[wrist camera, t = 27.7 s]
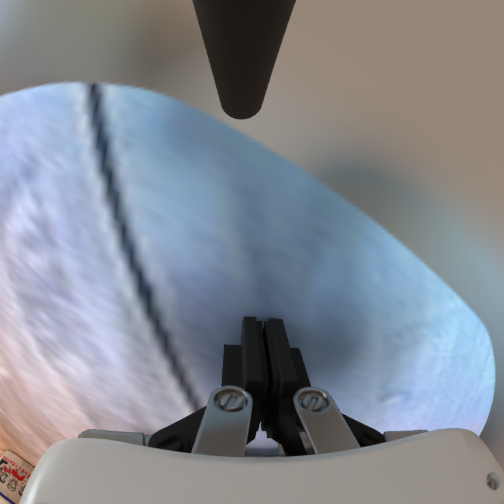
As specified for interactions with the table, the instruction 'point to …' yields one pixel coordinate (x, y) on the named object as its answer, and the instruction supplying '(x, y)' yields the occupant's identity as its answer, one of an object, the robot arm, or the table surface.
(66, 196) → the table surface
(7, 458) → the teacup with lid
